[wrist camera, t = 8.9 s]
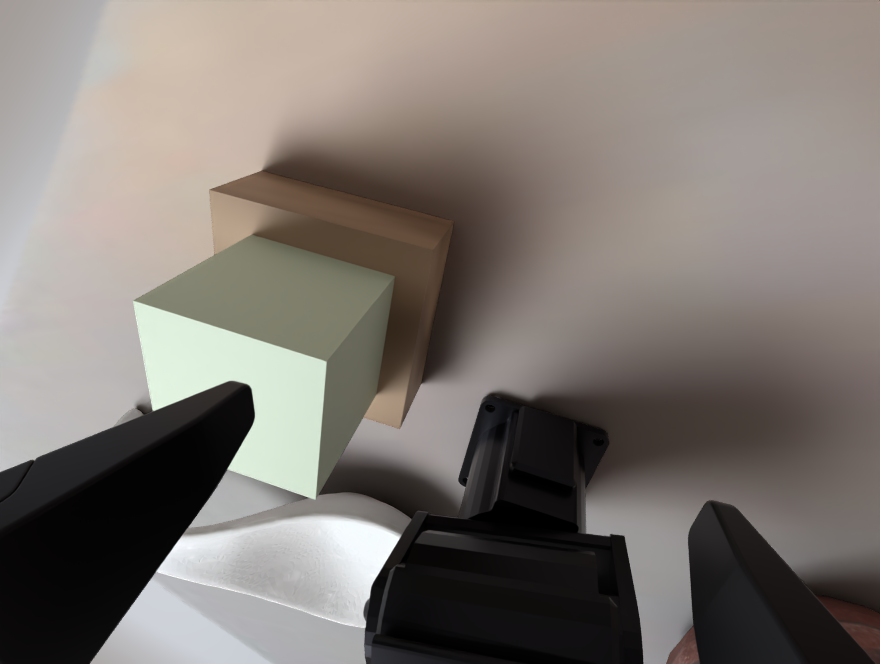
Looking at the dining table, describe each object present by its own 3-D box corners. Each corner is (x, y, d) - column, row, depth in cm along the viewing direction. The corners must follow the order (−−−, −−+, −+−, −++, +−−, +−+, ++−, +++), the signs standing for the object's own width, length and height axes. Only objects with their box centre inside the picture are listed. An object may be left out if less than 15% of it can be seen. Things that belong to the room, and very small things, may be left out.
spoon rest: (479, 506, 29) (455, 625, 23) (428, 601, 35) (398, 713, 29) (131, 365, 30) (21, 441, 24) (142, 481, 37) (57, 564, 30)
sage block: (376, 394, 21) (315, 499, 16) (254, 355, 22) (159, 445, 17) (395, 276, 18) (326, 361, 13) (251, 234, 19) (133, 300, 14)
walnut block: (422, 379, 25) (399, 428, 22) (268, 333, 26) (223, 373, 23) (456, 218, 21) (433, 250, 17) (266, 169, 22) (209, 189, 18)
